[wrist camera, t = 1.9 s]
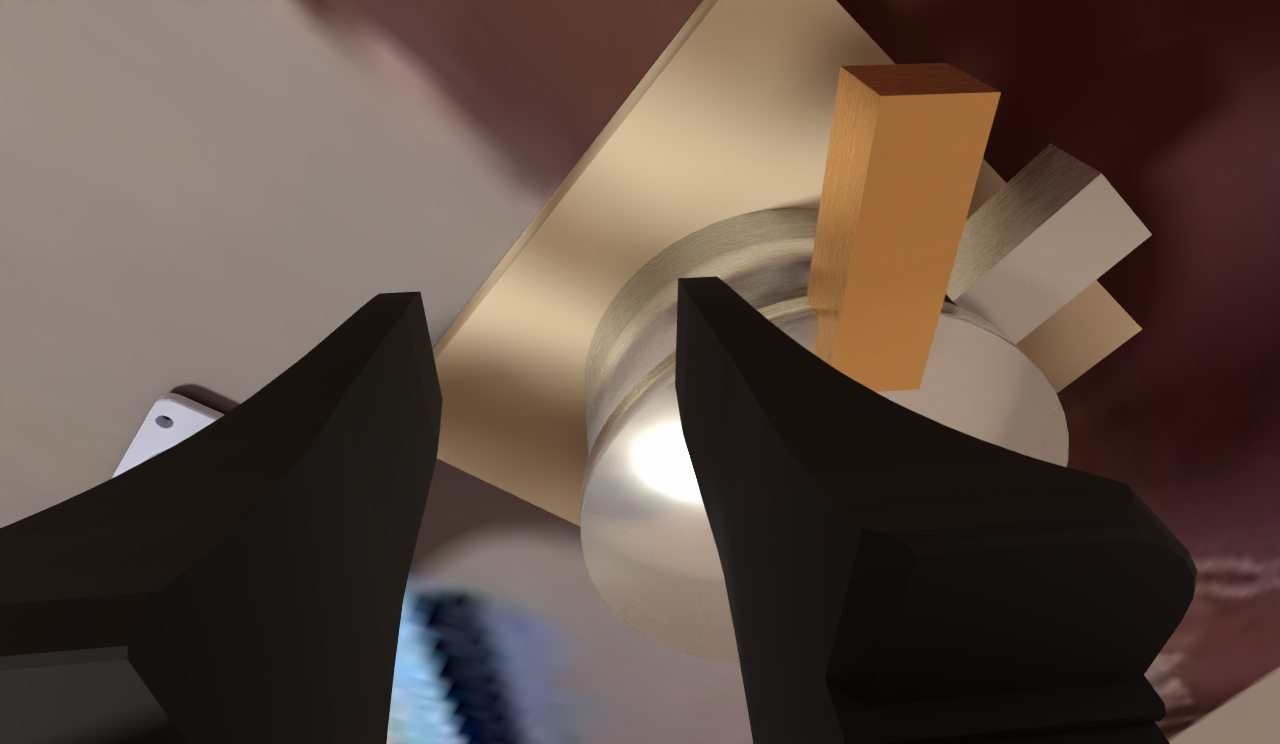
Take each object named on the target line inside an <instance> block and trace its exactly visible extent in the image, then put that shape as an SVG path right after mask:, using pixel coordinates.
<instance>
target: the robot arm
mask: <svg viewBox="0 0 1280 744" xmlns="http://www.w3.org/2000/svg"><path fill="white" fill-rule="evenodd" d="M675 388H676V395H677V401H678V408H679V414H680V420H681V426H682V432H683V437H684V441H685V444H686V448H687V451H688V454H689V458H690V461H691V464H692V468H693V471H694V474H695V478H696V481H697V484H698V488H699V491H700V494H701V498H702V501H703V504H704V507H705V511H706V514H707V517H708V521H709V524H710V527H711V530H712V534H713V537H714V540H715V544H716V547H717V550H718V554H719V558H720V562H721V566H722V570H723V574H724V579H725V584H726V590H727V595H728V600H729V606H730V611H731V616H732V622H733V627H734V632H735V638H736V644H737V649H738V655H739V661H740V666H741V672H742V678H743V683H744V689H745V695H746V701H747V707H748V713H749V719H750V726H751V732H752V738H753V744H1170V743H1169V742H1168V740H1167V739H1166V738H1165V736H1164V735H1163V733H1162V732H1161V730H1160V729H1159V727H1158V726H1157V725H1156V723H1155V722H1154V721H1161V720H1162V718H1163V717H1164V716H1165V715H1166V710H1165V704H1164V702H1163V701H1162V699H1161V698H1160V697H1159V695H1158V694H1157V692H1156V691H1155V690H1154V688H1153V687H1152V686H1151V684H1150V683H1149V681H1148V680H1147V679H1146V677H1145V676H1144V674H1145V672H1146V671H1147V669H1148V668H1149V667H1150V665H1151V664H1152V662H1153V661H1154V659H1155V658H1156V657H1157V655H1158V654H1159V652H1160V651H1161V649H1162V648H1163V647H1164V645H1165V644H1166V642H1167V641H1168V639H1169V638H1170V637H1171V635H1172V634H1173V632H1174V631H1175V629H1176V628H1177V627H1178V625H1179V624H1180V622H1181V621H1182V619H1183V617H1184V615H1185V613H1186V611H1187V609H1188V607H1189V605H1190V603H1191V601H1192V600H1193V596H1194V593H1195V585H1196V574H1197V569H1196V567H1195V565H1194V562H1193V560H1192V558H1191V556H1190V554H1189V552H1188V550H1187V549H1186V548H1185V547H1184V546H1183V545H1182V544H1181V542H1180V541H1179V540H1178V539H1177V538H1176V537H1175V536H1174V535H1173V534H1172V533H1171V531H1170V530H1169V529H1168V528H1167V527H1166V526H1165V525H1164V524H1163V523H1162V522H1161V520H1160V519H1159V518H1158V517H1157V516H1156V515H1155V514H1154V513H1153V512H1152V511H1151V509H1150V508H1149V507H1148V506H1147V505H1146V504H1145V503H1144V502H1143V501H1142V499H1141V498H1140V497H1139V496H1138V495H1137V494H1136V493H1135V492H1134V491H1133V490H1132V489H1131V488H1130V487H1129V486H1128V485H1127V484H1125V483H1122V482H1118V481H1114V480H1111V479H1107V478H1104V477H1100V476H1096V475H1093V474H1089V473H1086V472H1082V471H1079V470H1075V469H1071V468H1068V467H1064V466H1061V465H1057V464H1053V463H1050V462H1046V461H1043V460H1039V459H1036V458H1033V457H1030V456H1026V455H1023V454H1021V453H1018V452H1015V451H1012V450H1009V449H1006V448H1004V447H1001V446H998V445H995V444H992V443H989V442H986V441H984V440H981V439H978V438H976V437H973V436H970V435H968V434H965V433H963V432H960V431H958V430H955V429H953V428H950V427H948V426H945V425H943V424H941V423H939V422H937V421H934V420H932V419H930V418H928V417H925V416H923V415H921V414H919V413H916V412H914V411H912V410H910V409H908V408H905V407H903V406H901V405H899V404H897V403H895V402H893V401H891V400H889V399H887V398H886V397H884V396H882V395H880V394H878V393H876V392H875V391H873V390H871V389H869V388H868V387H866V386H864V385H862V384H860V383H859V382H857V381H855V380H853V379H851V378H850V377H848V376H846V375H845V374H843V373H842V372H840V371H838V370H837V369H835V368H834V367H832V366H831V365H829V364H828V363H826V362H825V361H823V360H822V359H820V358H819V357H817V356H816V355H815V354H813V353H812V352H810V351H809V350H807V349H806V348H804V347H803V346H802V345H800V344H799V343H798V342H796V341H795V340H794V339H792V338H791V337H790V336H788V335H787V334H786V333H784V332H783V331H782V330H781V329H779V328H778V327H777V326H776V325H774V324H773V323H772V322H771V321H769V320H768V319H767V318H766V317H764V316H763V315H762V314H761V313H760V312H758V311H757V310H756V309H755V308H754V307H753V306H751V305H750V304H749V303H748V302H747V301H746V300H744V299H743V298H742V297H741V296H740V295H739V294H738V293H736V292H735V291H734V290H733V289H732V288H731V287H730V286H728V285H727V284H726V283H725V282H724V281H722V280H721V279H720V278H719V277H717V276H713V277H693V278H678V298H677V333H676V367H675ZM442 401H443V399H442V394H441V389H440V384H439V380H438V375H437V370H436V365H435V360H434V355H433V351H432V346H431V341H430V336H429V331H428V326H427V321H426V317H425V312H424V307H423V302H422V297H421V292H402V293H383V294H378V295H377V296H375V297H374V298H372V299H371V300H370V301H369V302H367V303H366V304H365V305H364V306H363V307H361V308H360V309H359V310H358V311H357V312H355V313H354V314H353V315H352V316H351V317H350V318H349V319H347V320H346V321H345V322H344V323H343V324H342V325H340V326H339V327H338V328H337V329H336V330H335V331H334V332H332V333H331V334H330V335H329V336H328V337H326V338H325V339H324V340H323V341H322V342H321V343H319V344H318V345H317V346H316V347H315V348H313V349H312V350H311V351H310V352H309V353H308V354H306V355H305V356H304V357H303V358H301V359H300V360H299V361H298V362H296V363H295V364H294V365H292V366H291V367H290V368H288V369H287V370H286V371H285V372H283V373H282V374H281V375H279V376H278V377H277V378H275V379H274V380H273V381H271V382H270V383H269V384H267V385H266V386H265V387H264V388H262V389H261V390H260V391H258V392H257V393H256V394H254V395H253V396H252V397H250V398H249V399H247V400H246V401H245V402H243V403H242V404H240V405H239V406H237V407H236V408H234V409H233V410H231V411H230V412H228V413H227V414H225V415H224V414H222V413H220V412H218V411H215V410H213V409H211V408H209V407H206V406H204V405H202V404H200V403H197V402H195V401H193V400H191V399H188V398H186V397H184V396H182V395H179V394H175V393H166V394H163V395H161V396H160V397H159V398H158V400H157V401H156V402H155V404H154V406H153V407H152V409H151V411H150V413H149V414H148V416H147V418H146V419H145V421H144V423H143V425H142V426H141V428H140V430H139V432H138V433H137V435H136V437H135V439H134V440H133V442H132V444H131V446H130V447H129V449H128V451H127V453H126V454H125V456H124V458H123V459H122V461H121V463H120V465H119V466H118V468H117V470H116V472H115V473H114V475H113V477H112V479H110V480H108V481H106V482H104V483H102V484H100V485H98V486H96V487H94V488H92V489H89V490H87V491H85V492H83V493H81V494H79V495H76V496H74V497H72V498H70V499H68V500H66V501H63V502H61V503H59V504H57V505H55V506H52V507H50V508H48V509H45V510H43V511H41V512H38V513H36V514H34V515H31V516H29V517H27V518H24V519H22V520H20V521H17V522H15V523H13V524H10V525H8V526H5V527H3V528H0V744H386V742H387V731H388V721H389V712H390V703H391V694H392V685H393V676H394V667H395V659H396V651H397V643H398V635H399V627H400V620H401V612H402V604H403V598H404V593H405V588H406V583H407V578H408V573H409V569H410V565H411V561H412V557H413V553H414V549H415V545H416V541H417V536H418V532H419V528H420V524H421V520H422V516H423V512H424V508H425V504H426V500H427V496H428V492H429V488H430V483H431V479H432V475H433V471H434V467H435V462H436V458H437V453H438V444H439V435H440V425H441V413H442ZM162 416H167V417H169V418H170V419H172V421H171V420H167V419H165V418H164V417H162Z"/></svg>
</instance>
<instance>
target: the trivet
mask: <svg viewBox="0 0 1280 744" xmlns="http://www.w3.org/2000/svg"><path fill="white" fill-rule="evenodd" d="M889 64H895V63H894V62H893V61H892V60H891V59H890V58H889V57H888V55H887V54H886V53H885V52H884V51H883V50H882V49H881V48H880V47H879V46H878V45H877V44H876V43H875V42H874V40H873V39H872V38H871V37H870V36H869V35H868V34H867V33H866V32H865V31H864V30H863V29H862V28H861V26H860V25H859V24H858V23H857V22H856V21H855V20H854V19H853V18H852V17H851V16H850V15H849V14H848V12H847V11H846V10H845V9H844V8H843V7H842V6H841V5H840V4H839V3H838V2H837V1H836V0H703V1H702V3H701V4H700V5H699V7H698V8H697V9H696V10H695V12H694V13H693V14H692V16H691V17H690V18H689V19H688V21H687V22H686V23H685V25H684V26H683V27H682V28H681V30H680V31H679V32H678V34H677V35H676V36H675V37H674V39H673V40H672V41H671V43H670V44H669V45H668V47H667V48H666V49H665V50H664V52H663V53H662V54H661V56H660V57H659V58H658V59H657V61H656V62H655V63H654V65H653V66H652V67H651V68H650V70H649V71H648V72H647V74H646V75H645V76H644V77H643V79H642V80H641V81H640V83H639V84H638V85H637V86H636V88H635V89H634V90H633V92H632V93H631V94H630V96H629V97H628V98H627V99H626V101H625V102H624V103H623V105H622V106H621V107H620V108H619V110H618V111H617V112H616V114H615V115H614V116H613V117H612V119H611V120H610V121H609V123H608V124H607V125H606V126H605V128H604V129H603V130H602V132H601V133H600V134H599V135H598V137H597V138H596V139H595V141H594V142H593V143H592V145H591V146H590V147H589V148H588V150H587V151H586V152H585V154H584V155H583V156H582V157H581V159H580V160H579V161H578V163H577V164H576V165H575V166H574V168H573V169H572V170H571V172H570V173H569V174H568V175H567V177H566V178H565V179H564V181H563V182H562V183H561V184H560V186H559V187H558V188H557V190H556V191H555V192H554V193H553V195H552V196H551V197H550V199H549V200H548V201H547V203H546V204H545V205H544V206H543V208H542V209H541V210H540V212H539V213H538V214H537V215H536V217H535V218H534V219H533V221H532V222H531V223H530V224H529V226H528V227H527V228H526V230H525V231H524V232H523V233H522V235H521V236H520V237H519V239H518V240H517V241H516V242H515V244H514V245H513V246H512V248H511V249H510V250H509V252H508V253H507V254H506V255H505V257H504V258H503V259H502V261H501V262H500V263H499V264H498V266H497V267H496V268H495V270H494V271H493V272H492V273H491V275H490V276H489V277H488V279H487V280H486V281H485V282H484V284H483V285H482V286H481V288H480V289H479V290H478V291H477V293H476V294H475V295H474V297H473V298H472V299H471V301H470V302H469V303H468V304H467V306H466V307H465V308H464V310H463V311H462V312H461V313H460V315H459V316H458V317H457V319H456V320H455V321H454V322H453V324H452V325H451V326H450V328H449V329H448V330H447V331H446V333H445V334H444V335H443V337H442V338H441V339H440V340H439V342H438V343H437V344H436V346H435V347H434V348H433V349H432V351H433V355H434V360H435V365H436V370H437V375H438V380H439V384H440V389H441V394H442V399H443V401H442V413H441V425H440V435H439V444H438V453H437V458H438V459H440V460H442V461H444V462H446V463H448V464H450V465H452V466H454V467H456V468H458V469H461V470H463V471H465V472H467V473H469V474H471V475H473V476H475V477H477V478H479V479H481V480H484V481H486V482H488V483H490V484H492V485H494V486H496V487H498V488H500V489H502V490H504V491H507V492H509V493H511V494H513V495H515V496H517V497H519V498H521V499H523V500H525V501H527V502H530V503H532V504H534V505H536V506H538V507H540V508H542V509H544V510H546V511H548V512H550V513H553V514H555V515H557V516H559V517H561V518H563V519H565V520H567V521H569V522H571V523H573V524H576V525H578V526H580V489H581V484H582V479H583V474H584V469H585V465H586V463H587V460H588V444H587V428H586V411H585V394H584V377H585V364H586V360H587V356H588V351H589V347H590V343H591V341H592V338H593V336H594V333H595V331H596V328H597V326H598V323H599V322H600V320H601V318H602V316H603V315H604V313H605V311H606V309H607V308H608V306H609V304H610V303H611V301H612V300H613V299H614V297H615V296H616V295H617V294H618V292H619V291H620V290H621V288H622V287H623V286H624V285H625V283H626V282H627V281H628V280H629V279H630V278H631V277H632V276H633V275H634V274H635V273H636V272H637V271H638V270H639V269H640V268H641V267H642V266H643V265H645V264H646V263H647V262H648V261H650V260H651V259H652V258H654V257H655V256H656V255H657V254H659V253H660V252H661V251H663V250H664V249H665V248H667V247H669V246H670V245H672V244H674V243H675V242H677V241H679V240H680V239H682V238H684V237H685V236H687V235H689V234H691V233H693V232H695V231H697V230H700V229H702V228H704V227H706V226H709V225H711V224H713V223H716V222H719V221H722V220H725V219H728V218H731V217H735V216H738V215H741V214H746V213H751V212H757V211H762V210H767V209H780V208H795V207H797V208H813V209H819V208H820V201H821V194H822V188H823V181H824V174H825V167H826V161H827V154H828V147H829V140H830V133H831V127H832V120H833V113H834V106H835V99H836V93H837V86H838V79H839V72H840V66H855V65H889ZM1005 184H1007V183H1006V182H1005V181H1004V180H1003V179H1002V178H1001V177H1000V176H999V175H998V174H997V173H996V172H995V171H994V169H993V168H992V167H991V166H990V165H989V164H988V163H987V162H986V161H985V160H984V159H983V160H982V163H981V167H980V171H979V174H978V178H977V181H976V185H975V189H974V192H973V196H972V200H971V203H970V207H969V211H968V214H967V218H966V220H967V219H968V218H969V217H970V216H972V215H973V214H974V213H975V212H976V211H977V210H978V209H979V208H980V207H981V206H983V205H984V204H985V203H986V202H987V201H988V200H989V199H990V198H991V197H992V196H993V195H995V194H996V193H997V192H998V191H999V190H1000V189H1001V188H1002V187H1003V186H1004V185H1005ZM1141 330H1142V329H1141V327H1140V326H1139V325H1138V324H1137V323H1136V322H1135V321H1134V320H1133V319H1132V318H1131V317H1130V316H1129V315H1128V313H1127V312H1126V311H1125V310H1124V309H1123V308H1122V307H1121V306H1120V305H1119V304H1118V303H1117V302H1116V301H1115V300H1114V298H1113V297H1112V296H1111V295H1110V294H1109V293H1108V292H1107V291H1106V290H1105V289H1104V288H1103V287H1102V286H1101V284H1100V283H1099V282H1098V281H1097V280H1095V281H1094V282H1093V283H1091V284H1090V285H1089V286H1088V287H1086V288H1085V289H1084V290H1083V291H1082V292H1080V293H1079V294H1078V295H1077V296H1075V297H1074V298H1073V299H1072V300H1070V301H1069V302H1068V303H1067V304H1065V305H1064V306H1063V307H1062V308H1060V309H1059V310H1058V311H1057V312H1055V313H1054V314H1053V315H1052V316H1050V317H1049V318H1048V319H1047V320H1045V321H1044V322H1043V323H1042V324H1040V325H1039V326H1038V327H1037V328H1035V329H1034V330H1033V331H1032V332H1031V333H1029V334H1028V335H1027V336H1026V337H1024V338H1023V339H1022V340H1021V341H1019V342H1018V343H1017V344H1016V345H1017V346H1018V347H1019V348H1020V349H1021V350H1022V351H1023V353H1024V354H1025V355H1026V356H1027V357H1028V358H1029V359H1030V360H1031V361H1032V362H1033V363H1034V364H1035V365H1036V366H1037V367H1038V368H1039V370H1040V371H1041V372H1042V373H1043V374H1044V376H1045V377H1046V379H1047V380H1048V382H1049V383H1050V385H1051V386H1052V387H1053V389H1054V390H1055V392H1056V394H1057V393H1058V392H1059V391H1061V390H1062V389H1063V388H1065V387H1066V386H1067V385H1069V384H1070V383H1071V382H1073V381H1074V380H1075V379H1077V378H1078V377H1079V376H1081V375H1082V374H1083V373H1085V372H1086V371H1087V370H1089V369H1090V368H1091V367H1093V366H1094V365H1095V364H1097V363H1098V362H1099V361H1101V360H1102V359H1103V358H1105V357H1106V356H1107V355H1109V354H1110V353H1111V352H1113V351H1114V350H1115V349H1117V348H1118V347H1119V346H1121V345H1122V344H1123V343H1125V342H1126V341H1127V340H1129V339H1130V338H1131V337H1133V336H1134V335H1135V334H1137V333H1138V332H1139V331H1141ZM580 527H581V526H580Z"/></svg>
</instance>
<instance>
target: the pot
mask: <svg viewBox="0 0 1280 744" xmlns="http://www.w3.org/2000/svg"><path fill="white" fill-rule="evenodd" d="M818 215H819V209H813V208H797V207H795V208H780V209H767V210H762V211H757V212H751V213H746V214H741V215H738V216H735V217H731V218H728V219H725V220H722V221H719V222H716V223H713V224H711V225H709V226H706V227H704V228H702V229H700V230H697V231H695V232H693V233H691V234H689V235H687V236H685V237H684V238H682V239H680V240H679V241H677V242H675V243H674V244H672V245H670V246H669V247H667V248H665V249H664V250H663V251H661V252H660V253H659V254H657V255H656V256H655V257H654V258H652V259H651V260H650V261H648V262H647V263H646V264H645V265H643V266H642V267H641V268H640V269H639V270H638V271H637V272H636V273H635V274H634V275H633V276H632V277H631V278H630V279H629V280H628V281H627V282H626V283H625V285H624V286H623V287H622V288H621V290H620V291H619V292H618V294H617V295H616V296H615V297H614V299H613V300H612V301H611V303H610V304H609V306H608V308H607V309H606V311H605V313H604V315H603V316H602V318H601V320H600V322H599V323H598V326H597V328H596V331H595V333H594V336H593V338H592V341H591V343H590V347H589V351H588V356H587V360H586V364H585V377H584V394H585V411H586V428H587V444H588V457H589V455H590V452H591V449H592V447H593V444H594V442H595V440H596V438H597V437H598V435H599V433H600V431H601V430H602V428H603V426H604V424H605V423H606V421H607V419H608V417H609V416H610V415H611V414H612V412H613V411H614V410H615V408H616V407H617V406H618V405H619V403H620V402H621V401H622V399H623V398H624V397H625V396H626V394H627V393H628V392H629V391H630V390H631V389H632V388H633V387H634V386H635V385H636V384H637V383H638V382H639V381H640V380H641V379H642V378H643V377H644V376H645V375H646V374H647V373H648V372H649V371H651V370H652V369H653V368H654V367H656V366H657V365H658V364H660V363H661V362H662V361H663V360H665V359H666V358H667V357H669V356H670V355H671V354H672V353H674V352H675V351H676V333H677V298H678V278H693V277H713V276H717V277H719V278H720V279H721V280H722V281H724V282H725V283H726V284H727V285H728V286H730V287H731V288H732V289H733V290H734V291H735V292H736V293H738V294H739V295H740V296H741V297H742V298H743V299H744V300H746V301H747V302H748V303H749V304H750V305H751V306H753V307H754V308H755V309H756V310H758V309H761V308H764V307H767V306H770V305H773V304H776V303H780V302H784V301H788V300H793V299H797V298H802V297H806V296H807V289H808V283H809V276H810V269H811V262H812V255H813V249H814V242H815V235H816V228H817V222H818ZM1151 235H1152V234H1151V233H1150V232H1149V230H1148V229H1147V228H1146V227H1145V226H1144V224H1143V223H1142V222H1141V221H1140V219H1139V218H1138V217H1137V216H1136V215H1135V213H1134V212H1133V211H1132V210H1131V209H1130V207H1129V206H1128V205H1127V204H1126V202H1125V201H1124V200H1123V199H1122V198H1121V196H1120V195H1119V194H1118V193H1117V192H1116V190H1115V189H1114V188H1113V187H1112V186H1111V184H1110V183H1109V182H1108V181H1107V179H1106V178H1105V177H1104V176H1103V175H1102V173H1100V172H1098V171H1097V170H1095V169H1093V168H1092V167H1090V166H1088V165H1086V164H1085V163H1083V162H1081V161H1080V160H1078V159H1076V158H1075V157H1073V156H1071V155H1069V154H1068V153H1066V152H1064V151H1063V150H1061V149H1059V148H1058V147H1056V146H1054V145H1052V144H1051V143H1050V144H1049V145H1048V146H1047V147H1046V148H1045V149H1044V150H1043V151H1042V152H1041V153H1039V154H1038V155H1037V156H1036V157H1035V158H1034V159H1033V160H1032V161H1031V162H1030V163H1028V164H1027V165H1026V166H1025V167H1024V168H1023V169H1022V170H1021V171H1020V172H1019V173H1018V174H1016V175H1015V176H1014V177H1013V178H1012V179H1011V180H1010V181H1009V182H1008V183H1007V184H1005V185H1004V186H1003V187H1002V188H1001V189H1000V190H999V191H998V192H997V193H996V194H995V195H993V196H992V197H991V198H990V199H989V200H988V201H987V202H986V203H985V204H984V205H983V206H981V207H980V208H979V209H978V210H977V211H976V212H975V213H974V214H973V215H972V216H970V217H969V218H968V219H967V220H966V222H965V225H964V229H963V232H962V236H961V240H960V243H959V247H958V251H957V254H956V258H955V262H954V265H953V269H952V272H951V276H950V280H949V283H948V287H947V291H946V294H945V298H944V302H948V303H952V304H954V305H956V306H958V307H961V308H963V309H965V310H967V311H970V312H972V313H974V314H976V315H978V316H980V317H982V318H983V319H985V320H986V321H988V322H989V323H991V324H992V325H994V326H995V327H997V328H998V329H1000V330H1001V331H1002V332H1003V333H1004V334H1005V335H1006V336H1007V337H1008V338H1009V339H1010V340H1011V341H1013V342H1014V343H1015V344H1017V343H1018V342H1019V341H1021V340H1022V339H1023V338H1024V337H1026V336H1027V335H1028V334H1029V333H1031V332H1032V331H1033V330H1034V329H1035V328H1037V327H1038V326H1039V325H1040V324H1042V323H1043V322H1044V321H1045V320H1047V319H1048V318H1049V317H1050V316H1052V315H1053V314H1054V313H1055V312H1057V311H1058V310H1059V309H1060V308H1062V307H1063V306H1064V305H1065V304H1067V303H1068V302H1069V301H1070V300H1072V299H1073V298H1074V297H1075V296H1077V295H1078V294H1079V293H1080V292H1082V291H1083V290H1084V289H1085V288H1086V287H1088V286H1089V285H1090V284H1091V283H1093V282H1094V281H1095V280H1096V279H1098V278H1099V277H1100V276H1101V275H1103V274H1104V273H1105V272H1106V271H1108V270H1109V269H1110V268H1111V267H1113V266H1114V265H1115V264H1116V263H1118V262H1119V261H1120V260H1121V259H1123V258H1124V257H1125V256H1126V255H1128V254H1129V253H1130V252H1131V251H1133V250H1134V249H1135V248H1136V247H1137V246H1139V245H1140V244H1141V243H1142V242H1144V241H1145V240H1146V239H1147V238H1149V237H1150V236H1151Z"/></svg>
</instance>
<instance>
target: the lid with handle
mask: <svg viewBox="0 0 1280 744" xmlns="http://www.w3.org/2000/svg"><path fill="white" fill-rule="evenodd" d="M1000 94H1001V92H1000V91H998V90H996V89H994V88H992V87H991V86H989V85H987V84H985V83H983V82H981V81H979V80H978V79H976V78H974V77H972V76H970V75H968V74H966V73H965V72H963V71H961V70H959V69H957V68H955V67H953V66H952V65H950V64H948V63H923V64H889V65H855V66H840V72H839V79H838V86H837V93H836V99H835V106H834V113H833V120H832V127H831V133H830V140H829V147H828V154H827V161H826V167H825V174H824V181H823V188H822V194H821V201H820V208H819V215H818V222H817V228H816V235H815V242H814V249H813V255H812V262H811V269H810V276H809V283H808V289H807V296H806V297H802V298H797V299H793V300H788V301H784V302H780V303H776V304H773V305H770V306H767V307H764V308H761V309H758V310H757V311H758V312H760V313H761V314H762V315H763V316H764V317H766V318H767V319H768V320H769V321H771V322H772V323H773V324H774V325H776V326H777V327H778V328H779V329H781V330H782V331H783V332H784V333H786V334H787V335H788V336H790V337H791V338H792V339H794V340H795V341H796V342H798V343H799V344H800V345H802V346H803V347H804V348H806V349H807V350H809V351H810V352H812V353H813V354H815V355H816V356H817V357H819V358H820V359H822V360H823V361H825V362H826V363H828V364H829V365H831V366H832V367H834V368H835V369H837V370H838V371H840V372H842V373H843V374H845V375H846V376H848V377H850V378H851V379H853V380H855V381H857V382H859V383H860V384H862V385H864V386H866V387H868V388H869V389H871V390H873V391H875V392H876V393H878V394H880V395H882V396H884V397H886V398H887V399H889V400H891V401H893V402H895V403H897V404H899V405H901V406H903V407H905V408H908V409H910V410H912V411H914V412H916V413H919V414H921V415H923V416H925V417H928V418H930V419H932V420H934V421H937V422H939V423H941V424H943V425H945V426H948V427H950V428H953V429H955V430H958V431H960V432H963V433H965V434H968V435H970V436H973V437H976V438H978V439H981V440H984V441H986V442H989V443H992V444H995V445H998V446H1001V447H1004V448H1006V449H1009V450H1012V451H1015V452H1018V453H1021V454H1023V455H1026V456H1030V457H1033V458H1036V459H1039V460H1043V461H1046V462H1050V463H1053V464H1057V465H1061V466H1064V467H1067V463H1068V447H1069V435H1068V429H1067V424H1066V418H1065V413H1064V411H1063V409H1062V406H1061V404H1060V401H1059V399H1058V396H1057V394H1056V392H1055V390H1054V389H1053V387H1052V386H1051V385H1050V383H1049V382H1048V380H1047V379H1046V377H1045V376H1044V374H1043V373H1042V372H1041V371H1040V370H1039V368H1038V367H1037V366H1036V365H1035V364H1034V363H1033V362H1032V361H1031V360H1030V359H1029V358H1028V357H1027V356H1026V355H1025V354H1024V353H1023V351H1022V350H1021V349H1020V348H1019V347H1018V346H1017V345H1016V344H1015V343H1014V342H1013V341H1011V340H1010V339H1009V338H1008V337H1007V336H1006V335H1005V334H1004V333H1003V332H1002V331H1001V330H1000V329H998V328H997V327H995V326H994V325H992V324H991V323H989V322H988V321H986V320H985V319H983V318H982V317H980V316H978V315H976V314H974V313H972V312H970V311H967V310H965V309H963V308H961V307H958V306H956V305H954V304H952V303H948V302H944V298H945V294H946V291H947V287H948V283H949V280H950V276H951V272H952V269H953V265H954V262H955V258H956V254H957V251H958V247H959V243H960V240H961V236H962V232H963V229H964V225H965V222H966V218H967V214H968V211H969V207H970V203H971V200H972V196H973V192H974V189H975V185H976V181H977V178H978V174H979V171H980V167H981V163H982V160H983V156H984V152H985V149H986V145H987V141H988V138H989V134H990V131H991V127H992V123H993V120H994V116H995V112H996V109H997V105H998V101H999V98H1000ZM675 367H676V351H675V352H674V353H672V354H671V355H670V356H669V357H667V358H666V359H665V360H663V361H662V362H661V363H660V364H658V365H657V366H656V367H654V368H653V369H652V370H651V371H649V372H648V373H647V374H646V375H645V376H644V377H643V378H642V379H641V380H640V381H639V382H638V383H637V384H636V385H635V386H634V387H633V388H632V389H631V390H630V391H629V392H628V393H627V394H626V396H625V397H624V398H623V399H622V401H621V402H620V403H619V405H618V406H617V407H616V408H615V410H614V411H613V412H612V414H611V415H610V416H609V417H608V419H607V421H606V423H605V424H604V426H603V428H602V430H601V431H600V433H599V435H598V437H597V438H596V440H595V442H594V444H593V447H592V449H591V452H590V455H589V457H588V460H587V463H586V465H585V469H584V474H583V479H582V484H581V489H580V526H581V543H582V549H583V555H584V560H585V564H586V567H587V569H588V572H589V575H590V577H591V580H592V582H593V584H594V586H595V587H596V589H597V590H598V592H599V594H600V595H601V597H602V598H603V600H604V601H605V602H606V603H607V604H608V606H609V607H610V608H611V609H612V610H613V611H614V612H615V613H616V614H617V616H619V617H620V618H621V619H622V620H624V621H625V622H626V623H627V624H629V625H630V626H631V627H632V628H633V629H635V630H637V631H638V632H640V633H642V634H643V635H645V636H647V637H648V638H650V639H652V640H654V641H656V642H658V643H660V644H663V645H665V646H667V647H670V648H672V649H674V650H678V651H681V652H684V653H687V654H690V655H694V656H697V657H702V658H707V659H712V660H717V661H724V662H733V663H740V661H739V655H738V649H737V644H736V638H735V632H734V627H733V622H732V616H731V611H730V606H729V600H728V595H727V590H726V584H725V579H724V574H723V570H722V566H721V562H720V558H719V554H718V550H717V547H716V544H715V540H714V537H713V534H712V530H711V527H710V524H709V521H708V517H707V514H706V511H705V507H704V504H703V501H702V498H701V494H700V491H699V488H698V484H697V481H696V478H695V474H694V471H693V468H692V464H691V461H690V458H689V454H688V451H687V448H686V444H685V441H684V437H683V432H682V426H681V420H680V414H679V408H678V401H677V395H676V388H675Z"/></svg>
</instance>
